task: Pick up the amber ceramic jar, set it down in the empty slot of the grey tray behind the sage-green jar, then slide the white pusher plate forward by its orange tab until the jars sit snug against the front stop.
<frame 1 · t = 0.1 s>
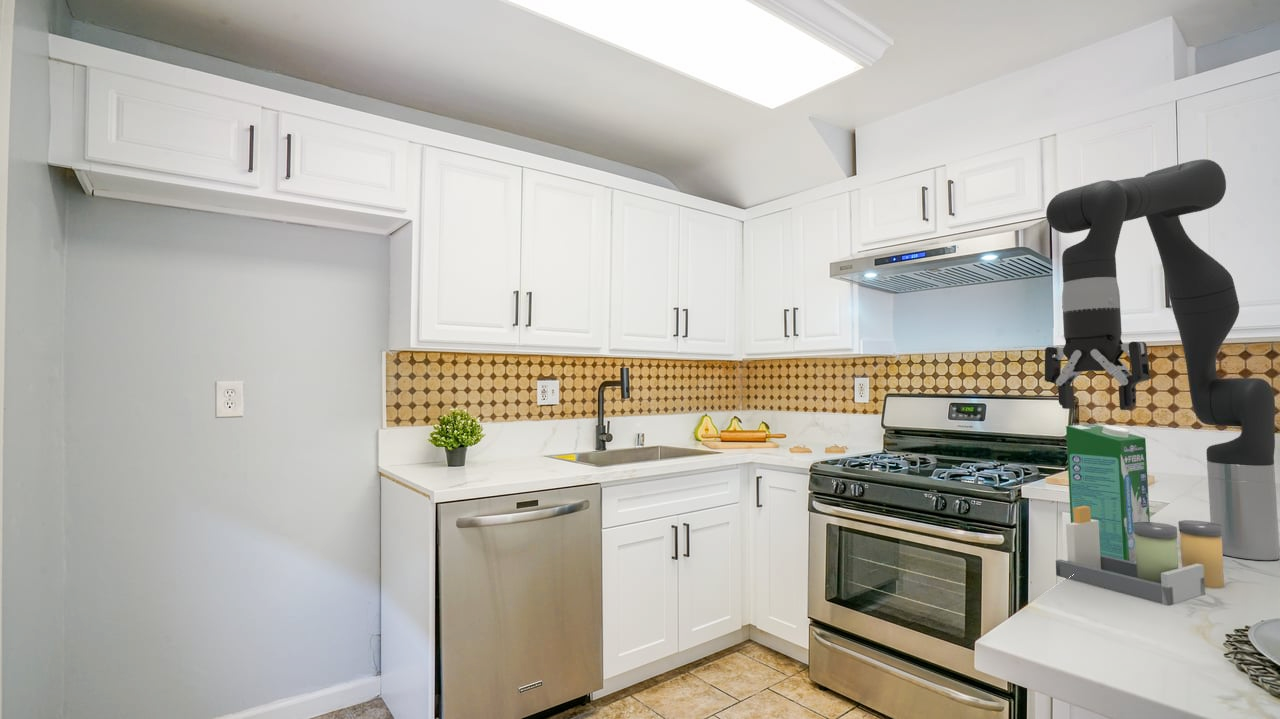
hand: (1096, 409, 99), 29 cm above the worktop, fingers open, 8 cm apart
amber jar: (1203, 587, 99), on the worktop
green jar: (1158, 592, 96), point 1 cm above the worktop, touching grey tray
pusher: (1083, 539, 106), point 7 cm above the worktop, slide at 0.0 cm
grey tray: (1132, 590, 99), on the worktop
milk carton: (1111, 559, 116), on the worktop
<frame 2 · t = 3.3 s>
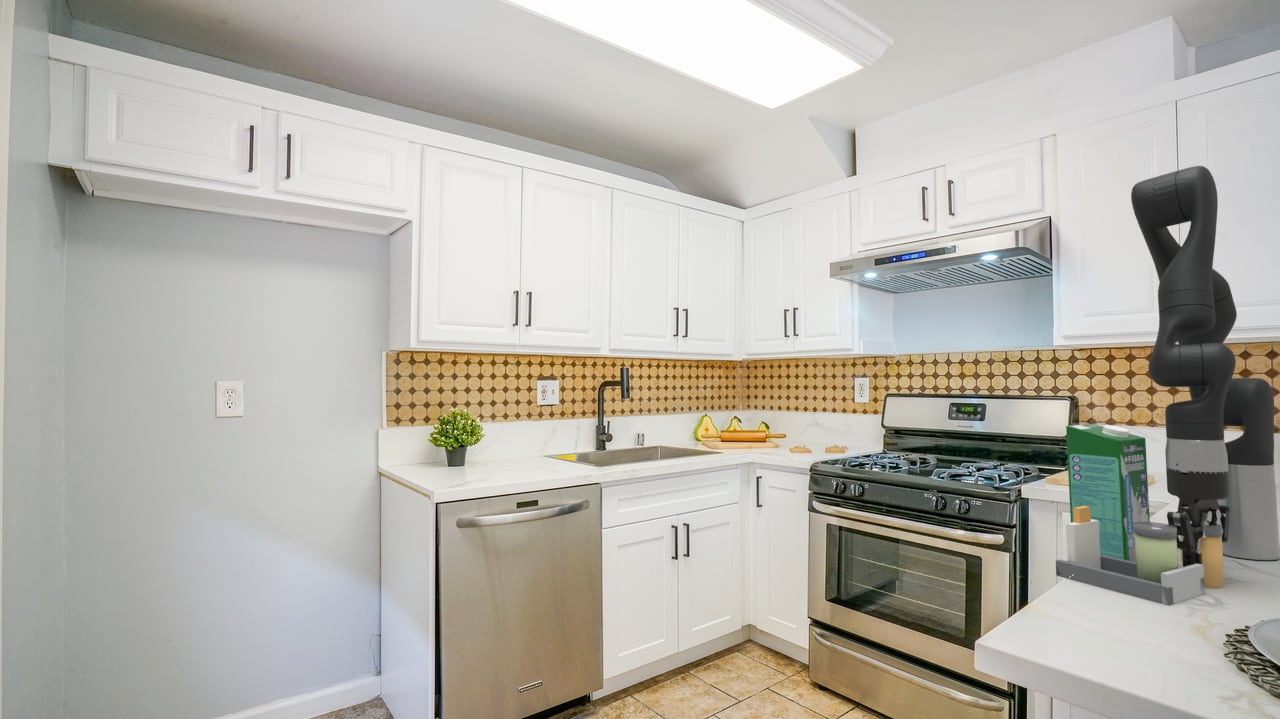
hand: (1202, 572, 100), 2 cm above the worktop, fingers closed on amber jar, 5 cm apart
amber jar: (1203, 587, 99), on the worktop, touching gripper
everything else where it was.
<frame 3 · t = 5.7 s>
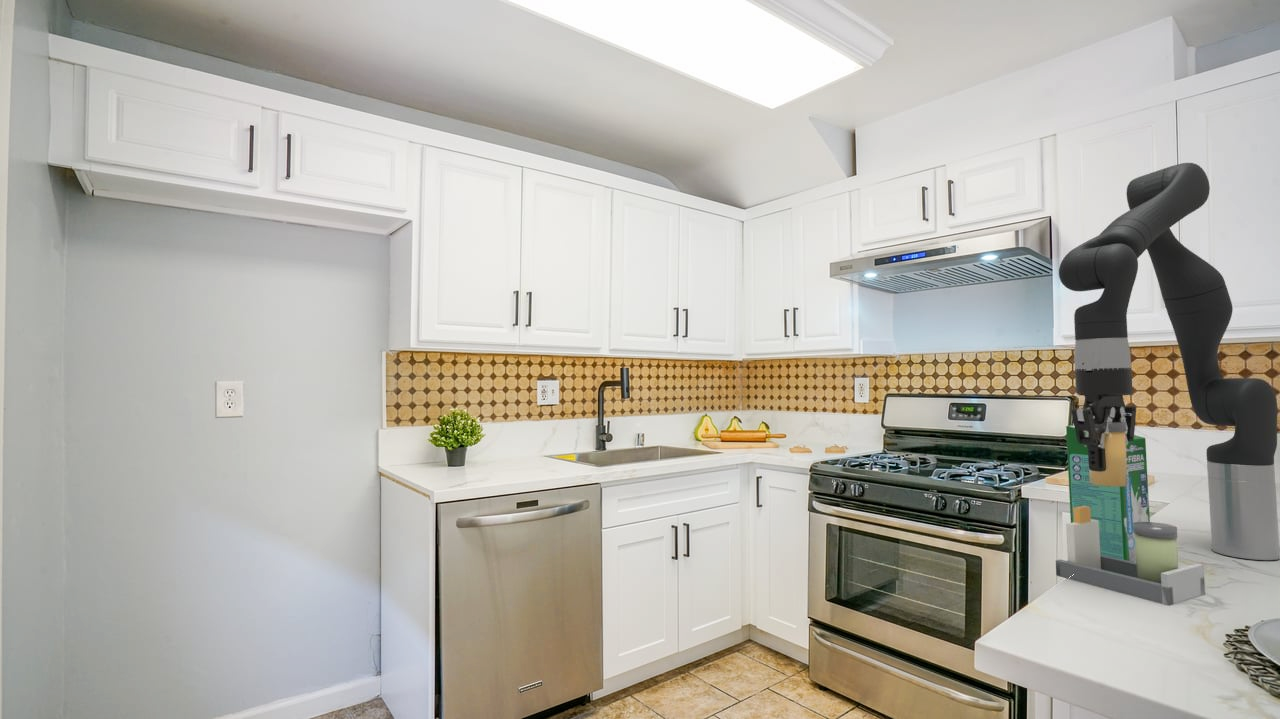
hand: (1107, 469, 102), 19 cm above the worktop, fingers closed on amber jar, 5 cm apart
amber jar: (1108, 483, 102), point 17 cm above the worktop, touching gripper
everything else where it was.
when the fingers open (5 cm above the worktop, at t = 8.3 s): amber jar drops 1 cm, resting on grey tray.
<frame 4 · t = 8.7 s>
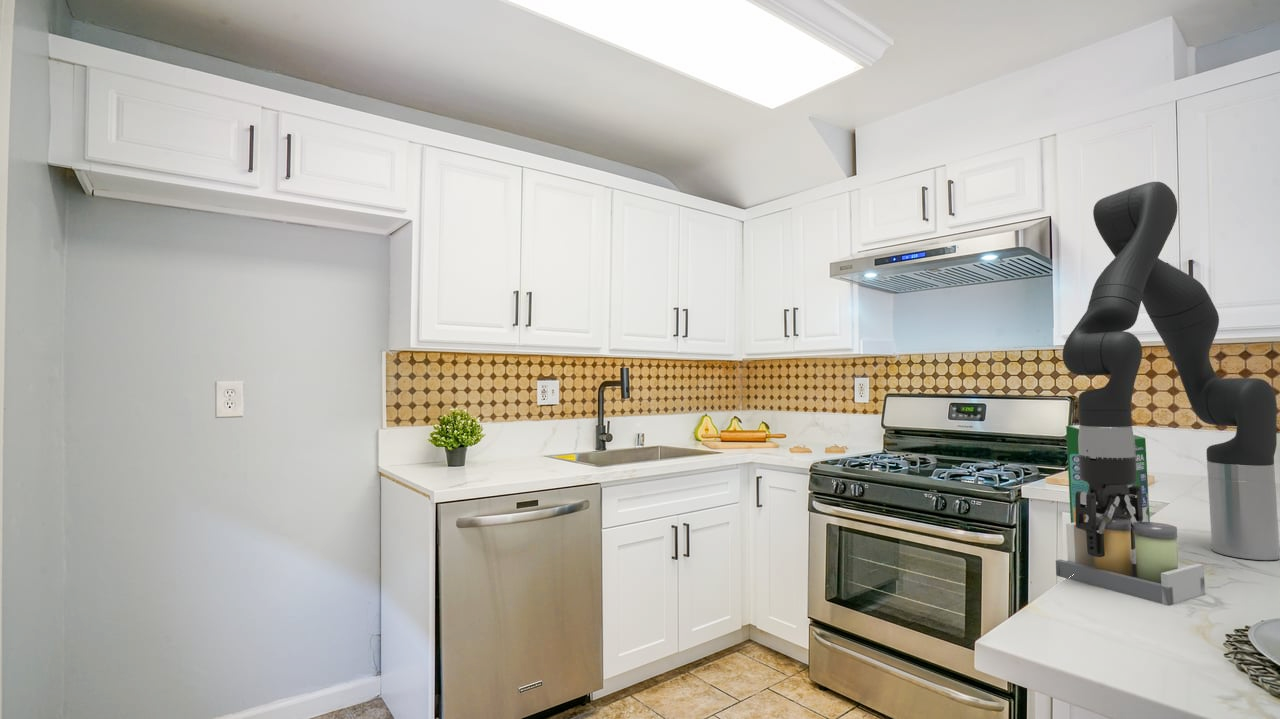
hand: (1111, 552, 102), 5 cm above the worktop, fingers open, 8 cm apart
amber jar: (1113, 580, 102), point 1 cm above the worktop, touching grey tray
everything else where it was.
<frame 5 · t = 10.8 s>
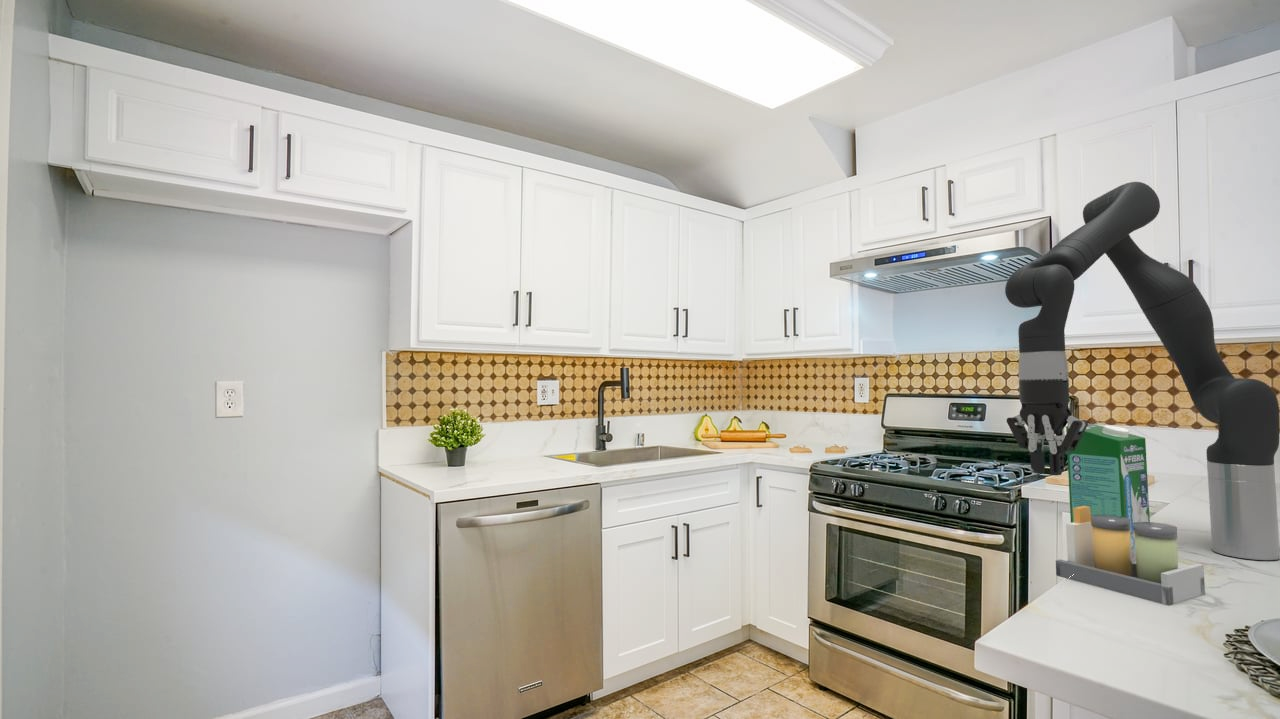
hand: (1047, 473, 111), 17 cm above the worktop, fingers closed
nothing on the worktop moved.
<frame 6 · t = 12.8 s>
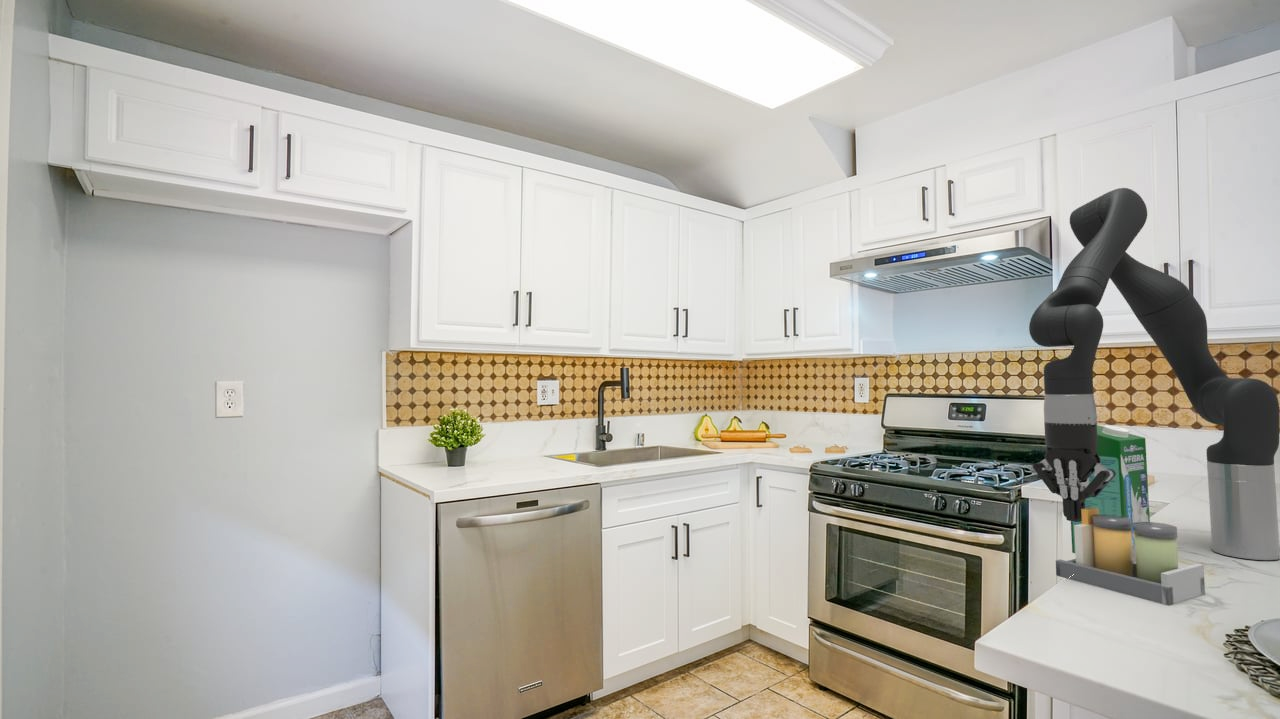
hand: (1074, 520, 107), 9 cm above the worktop, fingers closed
amber jar: (1114, 580, 101), point 1 cm above the worktop
pusher: (1091, 541, 104), point 7 cm above the worktop, slide at 1.3 cm, touching gripper
everything else where it was.
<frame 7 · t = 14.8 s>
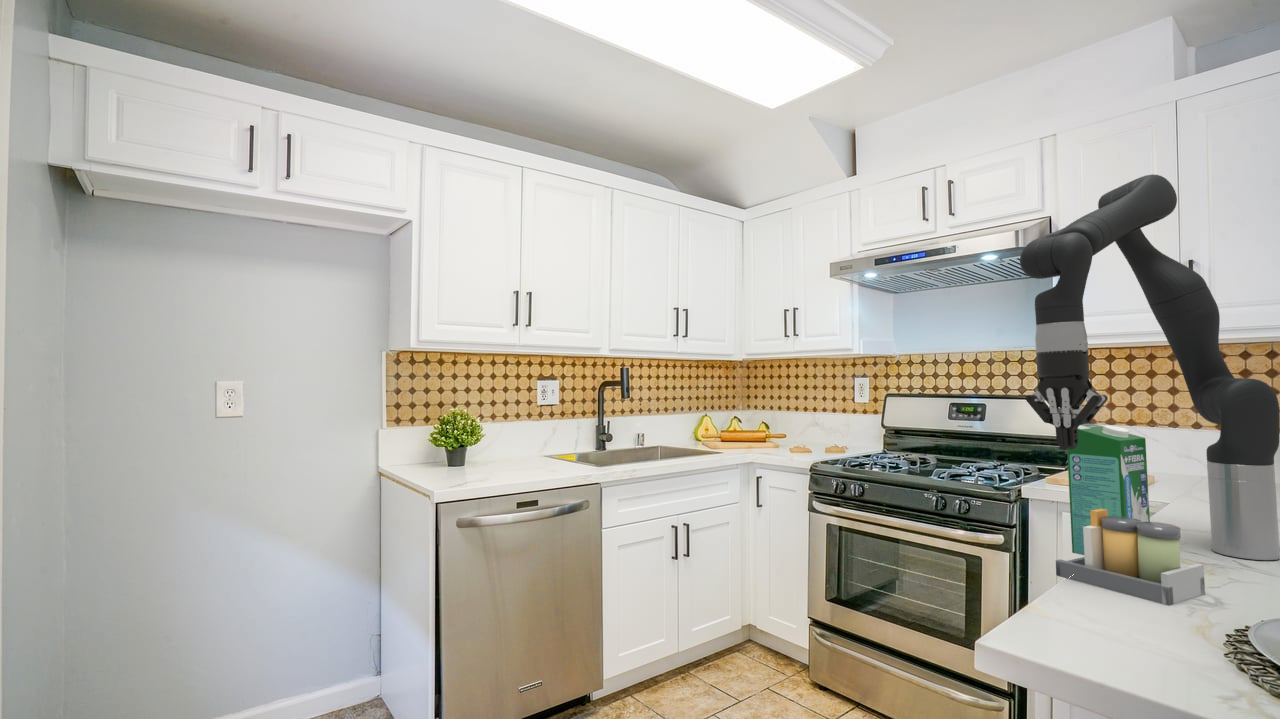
hand: (1068, 448, 108), 22 cm above the worktop, fingers closed
amber jar: (1124, 583, 100), point 1 cm above the worktop, touching green jar, grey tray, pusher
green jar: (1159, 592, 96), point 1 cm above the worktop, touching amber jar, grey tray
pusher: (1100, 543, 103), point 7 cm above the worktop, slide at 2.7 cm, touching amber jar
everything else where it was.
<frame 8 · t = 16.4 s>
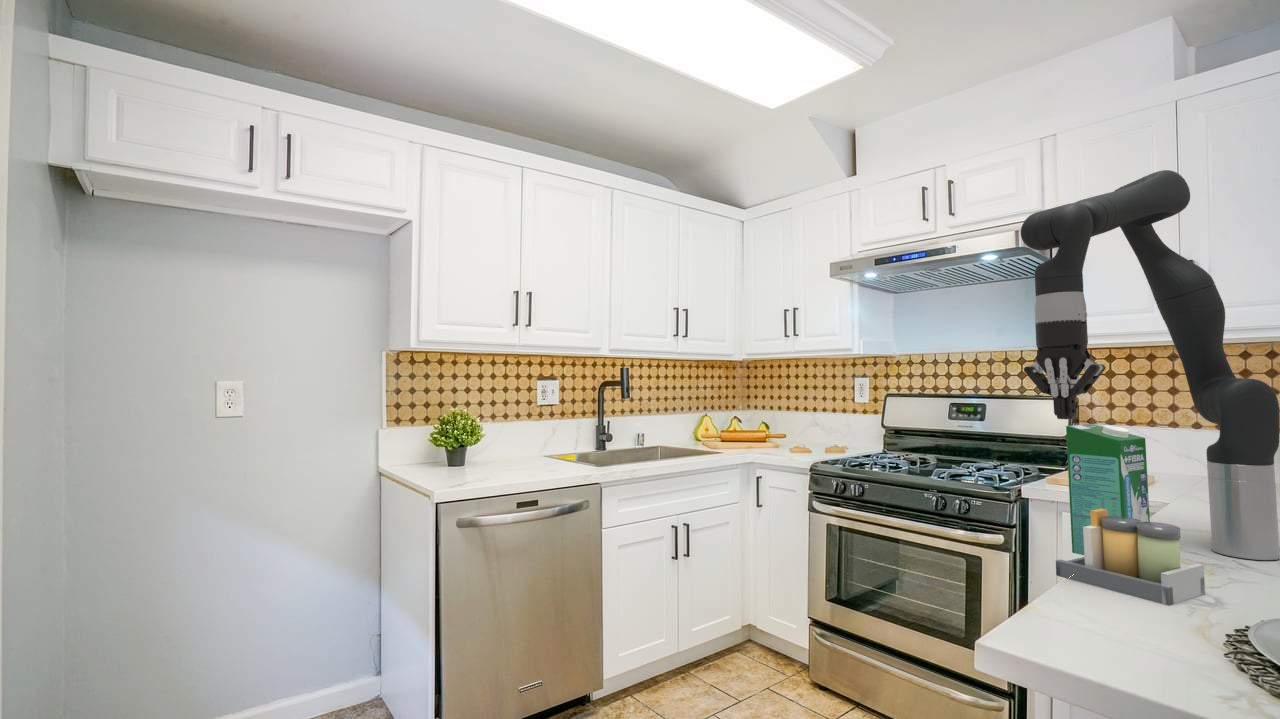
hand: (1065, 418, 108), 27 cm above the worktop, fingers closed
nothing on the worktop moved.
at the end: amber jar 0.4 cm from the target spot on the grey tray, point 0.8 cm above the grey tray's base; amber jar tilted 0°; pusher slide at 2.7 cm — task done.
